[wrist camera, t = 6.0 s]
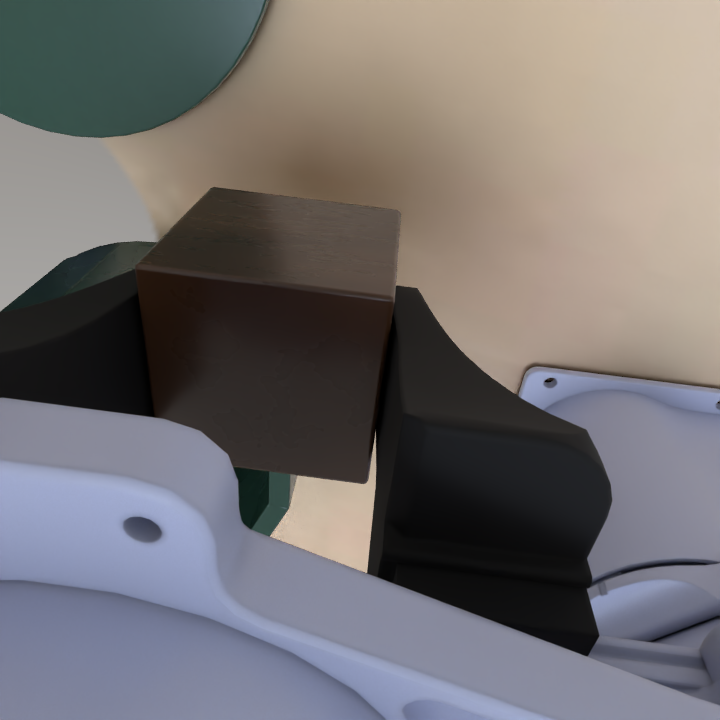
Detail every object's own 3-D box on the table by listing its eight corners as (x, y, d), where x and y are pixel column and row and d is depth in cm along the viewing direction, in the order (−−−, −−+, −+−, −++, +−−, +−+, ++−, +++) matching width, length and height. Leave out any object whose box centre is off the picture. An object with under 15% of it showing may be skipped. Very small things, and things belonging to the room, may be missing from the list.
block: (401, 208, 13) (395, 298, 10) (379, 367, 16) (367, 486, 12) (210, 185, 13) (132, 264, 10) (218, 346, 16) (157, 459, 12)
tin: (321, 262, 22) (295, 338, 17) (307, 492, 29) (285, 590, 24) (-4, 222, 22) (-114, 287, 18) (60, 460, 29) (-8, 552, 25)
